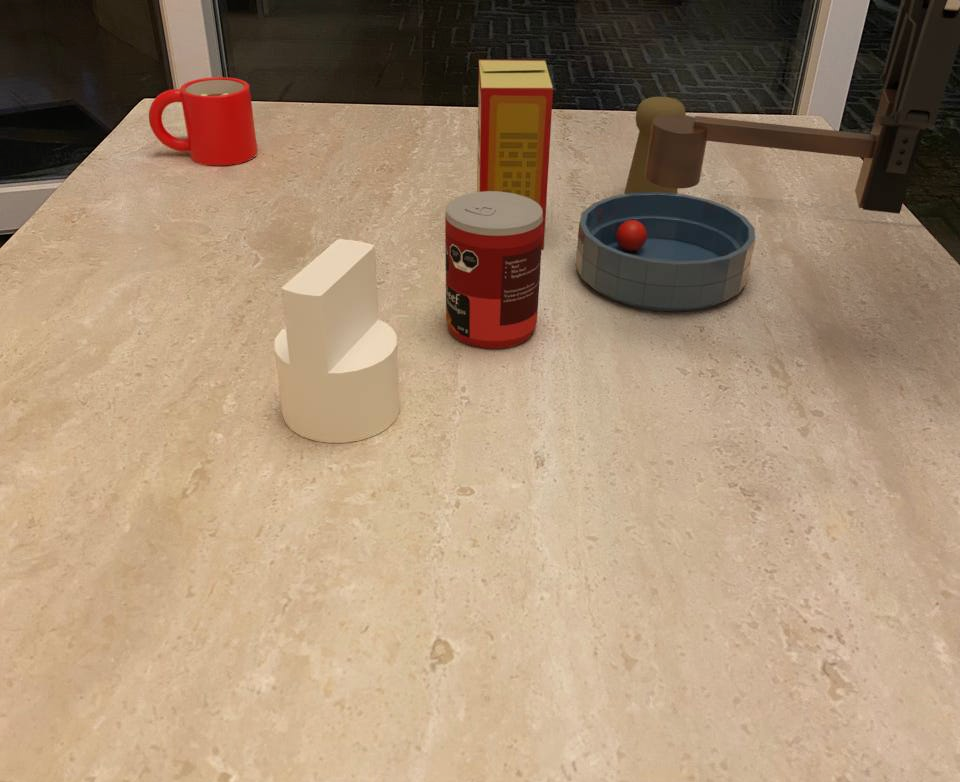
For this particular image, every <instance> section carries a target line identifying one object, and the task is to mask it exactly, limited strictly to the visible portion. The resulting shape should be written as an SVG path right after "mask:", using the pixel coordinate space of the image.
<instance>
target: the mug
mask: <svg viewBox="0 0 960 782" xmlns="http://www.w3.org/2000/svg"><path fill="white" fill-rule="evenodd" d="M251 95H252V94H251V87H250V84H249V83H248V82H247V81H245V80H243V79H240V78H236V77H225V76H215V77H213V76H212V77H211V76H210V77H203V78H197V79H192V80H191V81H188V82H185V83H184V84H182V85H181V86H180V88H174V89H173V88H172V89H168V90H165V91H162V92H161V93H160V94H158V95H157V96H156V97H155V98H154V99H153V101H152V102H151V105H150V107H149V110H148V121H149V126H150V129H151V131H152V132H153V134H154V136H155V137H156V138H157V140H158V141H159V142H160V143H162V145H164V146H165V147H167V148H169V149H170V150H171V149H172V150H174V151H178V152H189V155H190V159H191V158H192V159H193V160H194V161H193V160H192V159H191V160H192V161H193V162H194V163H197V162H198V163H197V164H199V163H201V164H200V165H203V164H206V165H205V166H208V165H230V166H232V165H231V164H237V165H239V164H238V163H241V164H243V163H242V162H245V161H248V160H249V159H251V158H253V157H254V156H255V155H256V154H257V152H258V145H257V144H258V143H257V138H256V129H255V119H254V112H253V105H252V104H253V102H252V96H251ZM174 103H181V106H182V112H183V118H184V123H185V130H186V137H187V138H179V137H176V136H174V135H173V134H170V132H169V131H168V130H167V129H166V128H165V126H164V123H163V112H164V110H165V109H166V108H167V107H168V106H169V105H171V104H174ZM257 155H258V154H257ZM253 159H254V158H253ZM248 162H249V161H248ZM245 163H246V162H245Z"/></svg>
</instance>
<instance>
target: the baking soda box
mask: <svg viewBox="0 0 960 782" xmlns="http://www.w3.org/2000/svg"><path fill="white" fill-rule="evenodd" d="M477 90H478V94H477V95H478V97H477V98H478V100H477V158H476V159H477V162H476V163H477V164H476V165H477V167H476V177H477V178H476V192H485V191H498V192H508V193H513V194H518V195H521V196H524V197H527V198H530V199H532V200H533V201H535V202H537V203H538V204H539V205H540V206H541V208H542V211H543V233H542V250H544V249H545V233H546V232H545V231H546V218H547V217H546V216H547V215H546V214H547V200H548V184H549V183H548V181H549V180H548V179H549V168H550V167H549V165H550V147H551V132H552V131H551V130H552V113H553V97H554V87H553V84H552V79H551V77H550V73H549V69H548V65H547V61H546V59H478V89H477Z"/></svg>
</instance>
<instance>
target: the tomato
mask: <svg viewBox="0 0 960 782" xmlns="http://www.w3.org/2000/svg"><path fill="white" fill-rule="evenodd" d="M616 239H617V242H618V244H619V246H620V247H621V248H622V249H624V250H626V251H636V250H638V249H640V248H641V247H642V246H643V245H644V244H645V242H646V239H647V231H646V228H645V227H644V225H643V224H642V223H640V222H639V221H636V220H629V221H626V222H624V223H623V224H621V225H620V227H619V228H618V230H617V233H616Z"/></svg>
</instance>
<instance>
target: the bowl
mask: <svg viewBox="0 0 960 782" xmlns="http://www.w3.org/2000/svg"><path fill="white" fill-rule="evenodd" d="M629 220H636V221H639V222H640V223H642V224H643V225H644V227H645V228H646V231H647V239H646V242H645V244H644V245H643V246H642V247H641V248H640V249H638V250H636V251H626V250H624V249H622V248H621V247H620V246H619V244H618V242H617V239H616V233H617V230H618V228H619V227H620V225H621V224H623V223H624V222H626V221H629ZM576 243H577V245H576V255H575V256H576V257H575V267H576V270H577V272H578V274H579V276H580V279H582V280H583V282H584V283H586V284H587V285H589V286H590V287H591V288H592V289H593V290H595V291H596V292H597V293H599V294H600V295H602V296H604V297H606V298H607V299H610V300H612V301H614V302H617V303H620V304H623V305H626V306H630V307H634V308H639V309H643V310H650V311H658V312H659V311H660V312H689V311H691V312H692V311H699V310H701V309H703V310H704V309H707V308H712V307H715V306H717V305H719V304H722V303H724V302H726V301H727V300H729V299H731V298H733V297H736V296H737V295H739V294H740V293H741V291H742V290H743V288H744V287H745V286H746V284H748V279H749V274H750V268H751V263H752V258H753V254H754V249H755V245H756V244H755V243H756V229H755V227H754V226H753V224H752V223H751V222H750V221H749V219H748V218H747V217H746V216H745V215H743V214H741V213H740V212H737V211H736V210H735V209H733V208H731V207H729V206H726V205H724V204H722V203H719V202H717V201H713V200H711V199H707V198H703V197H697V196H693V195H690V194H689V195H688V194H683V193H677V194H674V193H663V192H644V193H629V194H624V193H623V194H618V195H611V196H608V197H606V198H603V199H600V200H599V201H595V202H593V203H591V205H589V206H588V207H587V208H586V209H584V210H583V211H582V212H581V215H580V219H579V222H578V232H577V242H576Z"/></svg>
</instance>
